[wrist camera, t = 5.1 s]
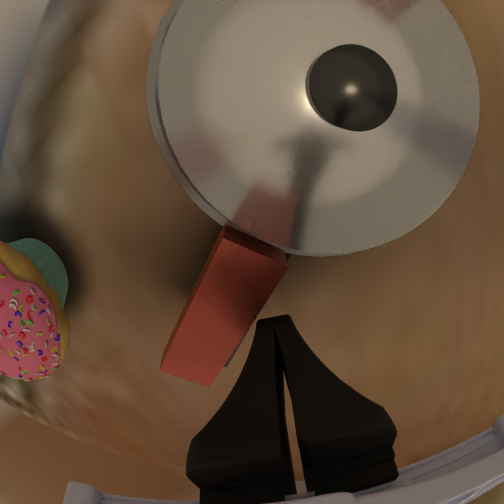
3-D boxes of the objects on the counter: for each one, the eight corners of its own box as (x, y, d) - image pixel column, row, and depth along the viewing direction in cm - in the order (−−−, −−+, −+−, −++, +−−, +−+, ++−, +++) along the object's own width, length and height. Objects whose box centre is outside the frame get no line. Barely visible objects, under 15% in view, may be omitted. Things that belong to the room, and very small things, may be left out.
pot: (469, 20, 10) (515, 14, 7) (301, 340, 19) (313, 388, 16) (266, -96, 8) (274, -137, 4) (105, 274, 17) (79, 318, 13)
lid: (306, -134, 4) (314, -155, 2) (515, 15, 7) (540, 13, 5) (78, 316, 13) (63, 341, 11) (289, 389, 15) (293, 416, 14)
